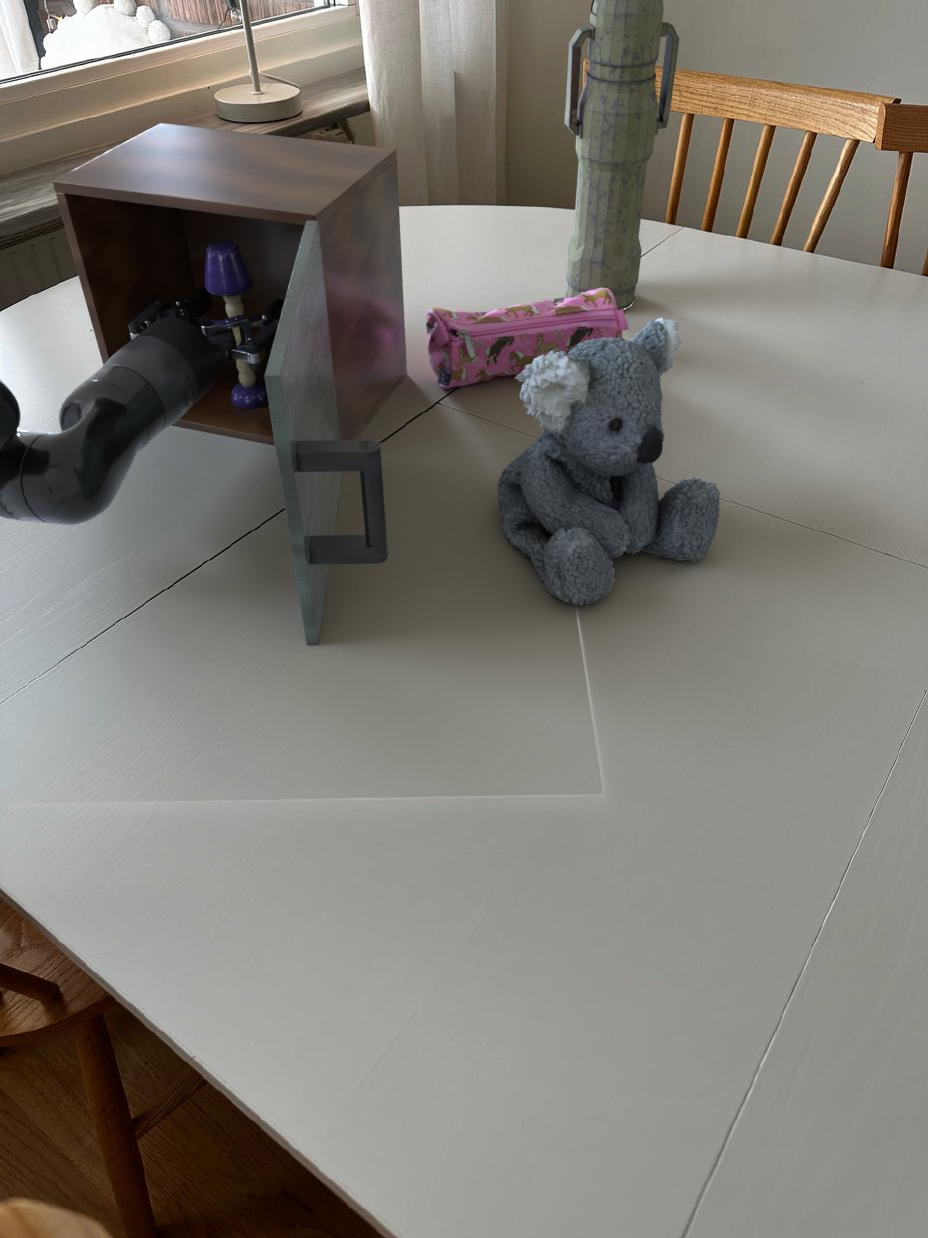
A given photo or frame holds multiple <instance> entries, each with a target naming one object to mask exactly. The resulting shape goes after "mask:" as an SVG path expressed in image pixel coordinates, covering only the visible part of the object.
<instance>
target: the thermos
mask: <svg viewBox="0 0 928 1238" xmlns="http://www.w3.org/2000/svg"><path fill="white" fill-rule="evenodd" d="M664 5H665V4H664V0H592V1H591V5H590V14H589V15H590V16H589V17H590V18H589V22H587V25H584V26H582V27H579V28H577V30H576V31H575V33H574V34H573V35H572V37H571V39H570V40H569V42H568V54H567V55H568V57H567V73H566V93H565V108H564V121H563V123H564V125H565V126H566V127H567V129H569V131H570V132H571V133H572V134H573V135H574V136H575V153H576V156H577V159H578V164H577V165H578V166H577V180H576V181H577V182H576V192H575V193H576V195H575V207H574V208H575V209H574V210H575V211H574V221H573V233H572V236H571V238H570V240H569V243H568V246H567V257H566V273H565V278H566V282H567V283H566V284H567V285H566V292H565V298H566V297H567V298H574V297H576V296H577V295H579V294H580V293H582V292H587V291H590V290H595V289H598V288H607V289H609V290H610V291H611V292H612V294H613V296H614V298H615V302H616V306H617V310H622V309H624V308H627V307H629V306H630V305H631V304H632V303H633V301H634V302H635V300H634V299H635V294H636V287H637V285H638V282H639V275H640V270H641V269H640V267H641V260H642V251H643V250H642V246H641V242H640V241H641V240H640V231H641V230H640V229H641V220H642V211H643V203H644V197H645V196H644V195H645V186H646V178H647V169H648V162H649V161H650V159H651V157H652V155H653V154H654V145H655V137H656V136H658V133H659V130H661V129H662V130H663V129H667V126H668V123H669V118H670V114H671V113H670V112H671V107H672V100H673V90H674V84H675V76H676V69H677V68H676V67H677V61H678V52H679V46H680V37H679V35H678V33H677V31H676V28H675V27H674V25H673V24H671V23H669V22H668V21H664V11H665V7H664ZM661 38H665V41H666V42H665V46H664V47H665V48H664V56H663V64H662V72H661V81H660V89H659V97H658V95H657V88H656V82H657V73H656V64H657V61H658V60H659V54H660V47H661V46H660V45H661ZM587 39H588V42H587V43H588V44H587V59H588V67H587V68H588V70H587V71H586V72H585V83H584V85H583V89H582V91H581V94H580V97H579V90H580V77H581V76H580V75H581V62H582V61H581V59H582V47H583V46H584V43H585V42H586V40H587ZM633 304H634V303H633Z"/></svg>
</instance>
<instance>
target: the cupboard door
mask: <svg viewBox="0 0 928 1238" xmlns="http://www.w3.org/2000/svg"><path fill="white" fill-rule="evenodd" d="M264 377H265V383H266V390H267V396H268V402H269V409H270V415H271V422H272V428H273V434H274V441H275V446H274V447H275V454H276V458H277V460H276V461H277V465H278V472H279V476H280V477H279V478H280V485H281V492H282V498H283V504H284V511H285V516H286V517H285V518H286V524H287V530H288V536H289V543H290V548H291V549H290V550H291V554H292V561H293V568H294V574H295V581H296V587H297V588H296V589H297V593H298V600H299V606H300V612H301V618H302V619H301V620H302V624H303V631H304V639H305V644H306V645H307V646H317V645H320V638H321V632H322V631H321V630H322V624H323V617H324V616H323V614H324V609H325V600H326V594H327V585H328V577H329V571H330V565H371V564H372V565H373V564H374V565H375V564H382V563H385V562H386V561H387V560H388V558H389V545H388V533H387V519H386V518H387V517H386V506H385V505H386V503H385V492H384V478H383V463H382V449H381V444H380V442H378V441H377V440H374V439H356V440H341V439H340V429H339V420H338V410H337V400H336V391H335V381H334V371H333V362H332V352H331V342H330V333H329V323H328V313H327V304H326V294H325V284H324V275H323V265H322V255H321V245H320V236H319V226H318V221H306V223H305V227H304V231H303V234H302V238H301V242H300V246H299V249H298V253H297V257H296V260H295V264H294V268H293V272H292V275H291V279H290V283H289V287H288V290H287V294H286V298H285V301H284V305H283V309H282V313H281V316H280V320H279V324H278V327H277V331H276V335H275V339H274V342H273V346H272V350H271V354H270V357H269V361H268V365H267V368H266V372H265V376H264ZM343 472H359V479H360V491H361V502H362V515H363V521H364V522H363V524H364V534H347V535H346V534H337V535H336V534H334V532H335V525H336V516H337V511H338V501H339V493H340V487H341V480H342V473H343Z"/></svg>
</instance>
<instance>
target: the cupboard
mask: <svg viewBox="0 0 928 1238" xmlns="http://www.w3.org/2000/svg"><path fill="white" fill-rule="evenodd" d="M397 156H398V155H397V149H396V148H392V147H383V146H382V147H380V146H372V145H364V144H354V143H347V142H345V143H344V142H335V141H327V140H316V139H308V138H299V137H291V136H290V137H289V136H283V135H282V136H281V135H272V134H263V133H254V132H245V131H236V130H227V129H219V128H218V129H217V128H209V127H201V126H200V127H199V126H191V125H190V126H189V125H180V124H172V123H163V122H161V123H160V122H159V123H158V124H156V125H155V126H153V127H151V128H149V129H147V130H145V131H143V132H142V133H139V134H137V135H135V136H134V137H132V138H130V139H128V140H126V141H124V142H122V143H120V144H119V145H117V146H115V147H113V148H111V149H110V150H107V151H106V152H104V153H102V154H100V155H98V156H96V157H95V158H92V159H91V160H89V161H87V162H85V163H83V164H82V165H79V166H78V167H76V168H74V169H72V170H70V171H69V172H66V173H65V174H63V175H61V176H59V177H57V178H55V179H54V180H52V181H51V182H52V186H53V189H54V192H55V196H56V200H57V203H58V207H59V211H60V215H61V218H62V222H63V225H64V229H65V232H66V236H67V240H68V243H69V246H70V251H71V254H72V258H73V261H74V264H75V268H76V271H77V275H78V279H79V282H80V286H81V289H82V293H83V297H84V301H85V305H86V308H87V311H88V315H89V319H90V322H91V326H92V329H93V330H92V331H93V333H94V336H95V340H96V345H97V347H98V352H99V355H100V358H101V362H102V367H103V366H104V364H105V363H106V362H107V361H108V360H109V358H110V357H111V356H113V355H114V354H115V353H116V352H117V351H118V350H120V349H121V348H122V347H123V346H125V345H126V344H127V343H129V342H130V341H131V336H130V331H129V327H128V323H129V322H131V321H132V320H133V319H134V318H135V317H136V316H138V315H139V314H140V313H141V312H142V311H143V310H145V309H146V308H147V307H148V306H149V305H150V304H152V303H153V302H154V301H156V300H164V301H165V303H166V305H172V302H173V301H175V300H183V299H185V298H186V297H187V296H188V295H190V294H191V293H192V292H195V291H196V290H198V289H199V288H200V287H205V268H206V253H207V248H208V246H209V245H210V244H212V243H214V242H217V241H225V240H226V241H232V242H235V243H236V244H237V245H238V247H239V248H240V250H241V253H242V255H243V257H244V259H245V261H246V264H247V266H248V268H249V270H250V273H251V275H252V278H253V286H252V287H251V289H250V290H248V291H247V292H245V293H242V297H241V302H242V303H243V306H244V314H243V315H244V316H245V317H246V318H250V317H253V316H257V315H261V313H262V312H263V311H264V310H265V309H266V308H267V307H268V306H270V305H271V304H272V303H273V302H274V301H275V300H276V299H281V300H285V298H286V294H287V290H288V287H289V283H290V279H291V275H292V272H293V268H294V264H295V260H296V257H297V253H298V249H299V246H300V242H301V238H302V234H303V231H304V227H305V223H306V221H318V226H319V236H320V245H321V255H322V265H323V275H324V284H325V294H326V304H327V313H328V323H329V333H330V342H331V352H332V362H333V371H334V381H335V391H336V400H337V410H338V420H339V429H340V439H341V440H358V438H359V437H360V435H361V434H362V433H363V432H364V430H365V429H366V428H367V426H368V425H369V424H370V423H371V421H372V420H373V419H374V418H375V417H376V415H377V414H378V413H379V411H380V410H381V408H382V407H383V406H384V405H385V404H386V402H387V401H388V400H389V399H390V397H391V396H392V395H393V393H394V392H395V391H396V389H397V388H398V387H399V386H400V384H401V383H402V382H403V380H404V379H405V378H406V376H407V375H408V370H407V369H408V365H407V347H406V345H407V343H406V325H405V324H406V323H405V322H406V321H405V304H404V303H405V302H404V283H403V282H404V281H403V280H404V279H403V262H402V261H403V260H402V242H401V241H402V239H401V219H400V218H401V217H400V197H399V196H400V195H399V177H398V176H399V175H398V159H397V158H398V157H397ZM205 288H206V287H205ZM210 295H211V300H212V307H211V309H210V310H209V311H207V312H206V313H205V314H204V315H203V316H201V317H205V318H208V319H211V320H223V319H227V318H229V316H228V314H227V312H226V301H225V300H224V298H223V296H217V295H213V294H211V293H210ZM251 331H252V337H253V336H255V335H257V334H258V333H259V332H260V331H261V330H260V326H256V327H253V328H252V330H251ZM267 365H268V364H267ZM267 365H266V366H264V367H263V368H262V369H261V370H258V371H254V372H255V374H256V380H259V381H261V382H263V383H264V384H266V383H265V377H264V376H265V372H266V368H267ZM239 382H240V380H239V370H238V369H237V366H236V361H234V362H233V363H230V364H227V365H225V366H224V367H223V368H222V370H221V372H220V374H219V377H218V379H217V381H216V383H215V385H214V386H213V387H212V388H211V389H210V390H209V391H208V392H207V393H206V394H205V395H204V396H203V397H202V398H200V399H199V400H198V401H197V402H196V403H195V404H194V405H193V406H192V407H191V408H190V409H189V410H188V411H187V412H186V413H185V414H184V415H182V416H181V417H180V418H179V419H178V420H177V421H176V422H175V423H174V424H172V425H171V426H172V427H177V428H180V429H181V428H182V429H185V430H186V429H187V430H192V431H197V432H202V433H206V434H212V435H216V436H222V437H228V438H232V439H238V440H242V441H246V442H247V441H248V442H254V443H259V444H263V445H267V446H273V447H275V441H274V434H273V428H272V422H271V415H270V409H269V403H267V404H266V405H264V406H262V407H259V408H255V409H243V408H239V407H237V406H235V405H234V404H233V403H232V400H231V395H232V391H233V389H234V387H235V386H236V385H237V384H238V383H239ZM171 426H170V427H171Z"/></svg>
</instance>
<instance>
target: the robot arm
mask: <svg viewBox="0 0 928 1238" xmlns="http://www.w3.org/2000/svg"><path fill="white" fill-rule="evenodd" d="M284 301H285V300H281V299H276V300H275V301H274V302H273V303H272V304H271V305H270V306H268V307H267V308H266V309H265V310H264V311H263V312H262V313H261V315H257V316H253V317H250V318H246V317H245V316H244V315H238V316H234V317H231V318H227V319H223V320H211V319H208V318H205V317H201V316H203V315H204V314H205V313H206V312H207V311H209V310H210V309H211V307H212V300H211V295H210V292H208V291H207V290H206V288H205V287H200V288H199V289H198V290H196V291H195V292H192V293H191V294H190V295H188V296H187V297H186V298H185V299H183V300H175V301H173V302H172V305H166V303H165V301H164V300H156V301H154V302H153V303H152V304H150V305H149V306H148V307H147V308H146V309H145V310H143V311H142V312H141V313H140V314H139V315H138V316H136V317H135V318H134V319H133V320H132V321H131V322H129V323H128V327H129V331H130V336H131V341H130V342H129V343H127V344H126V345H125V346H123V347H122V348H121V349H120V350H118V351H117V352H116V353H115V354H114V355H113V356H111V357H110V358H109V360H108V361H107V362H106V363H105V364H104V366H103V365H102V366H101V367H100V368H99V369H98V370H97V371H96V372H94V373H93V374H92V375H90V376H89V377H88V378H87V379H86V380H84V381H83V382H82V383H81V384H79V385H78V386H77V387H75V388H74V390H72V391H71V392H70V393H69V394H68V396H67V397H66V398H65V399H64V400H63V402H62V403H61V405H60V406H61V407H60V409H59V413H58V424H59V427H60V431H59V432H58V431H40V430H24V429H21V428H20V423H21V417H22V415H21V408H20V405H19V401H18V400H17V397H16V396H15V394H14V392H13V391H12V390H11V389H10V387H8V386H7V384H6V383H5V382H3V380H2V379H0V517H1V518H3V519H8V520H12V521H19V522H20V521H21V522H31V523H42V524H51V525H52V524H53V525H63V526H74V525H80V524H84V523H86V522H89V521H91V520H92V519H95V518H96V517H98V516H99V515H102V513H104V512H105V511H107V509H108V508H109V507H110V506H111V504H112V503H113V502H114V500H115V498H116V496H117V495H118V493H119V491H120V489H121V486H122V484H123V483H124V480H125V479H126V476H127V475H128V473H129V471H130V469H131V467H132V465H133V462H134V461H135V458H136V456H137V455H138V454H139V453H140V452H141V451H142V450H144V449H145V447H146V446H147V445H149V444H150V443H151V442H152V441H153V440H154V439H155V438H157V436H158V435H159V434H160V433H162V432H163V431H164V430H166V429H168V428H169V427H171V425H172V424H174V423H175V422H176V421H177V420H178V419H179V418H180V417H181V416H182V415H184V414H185V413H186V412H187V411H188V410H189V409H190V408H191V407H192V406H193V405H194V404H195V403H196V402H197V401H198V400H199V399H200V398H202V397H203V396H204V395H205V394H206V393H207V392H208V391H209V390H210V389H211V388H212V387H213V386H214V385H215V383H216V381H217V379H218V377H219V374H220V372H221V370H222V368H223V367H224V366H225V365H227V364H230V363H233V362H234V361H236V360H237V359H238V360H242V361H247V362H248V363H249V369H250V370H252V371H258V370H261V369H262V368H263V367H264V366H266V365H267V364H268V361H269V357H270V354H271V350H272V346H273V342H274V339H275V335H276V331H277V327H278V324H279V320H280V316H281V313H282V309H283V305H284ZM256 326H260V330H261V331H260V332H259V333H258V334H257V335H255V336H253V337H252V331H251V330H252V328H253V327H256ZM236 327H239V330H240V336H241V343H240V344H239V345H237V342H236V339H235V335H234V332H233V329H232V328H236Z"/></svg>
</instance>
